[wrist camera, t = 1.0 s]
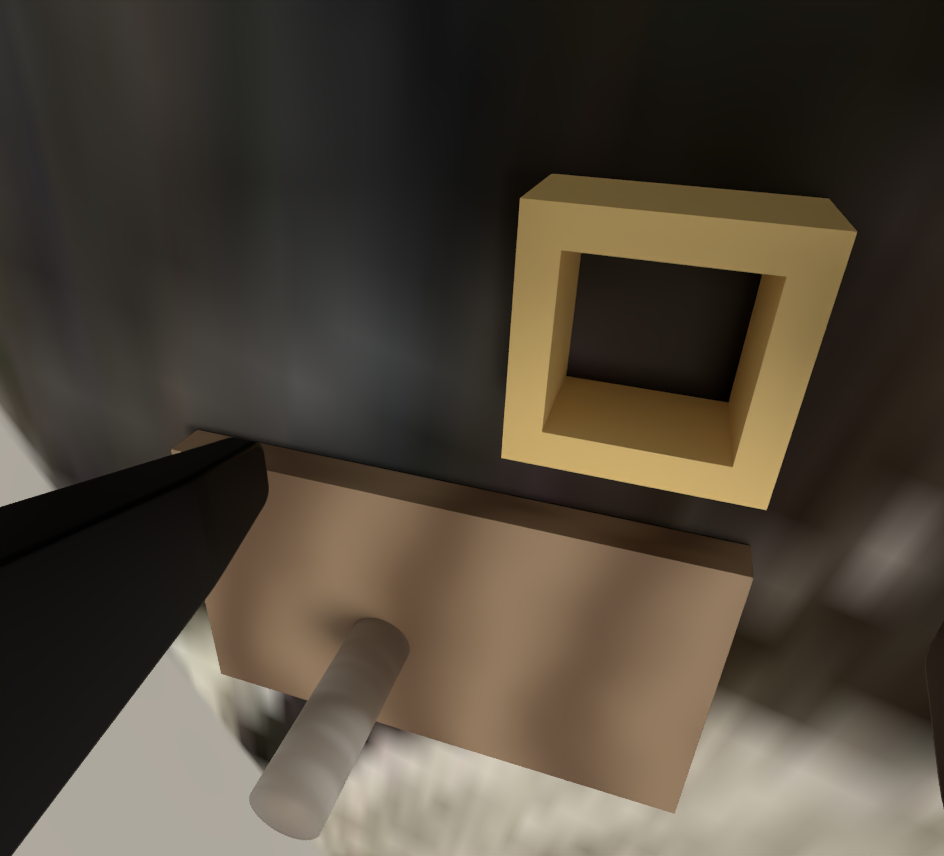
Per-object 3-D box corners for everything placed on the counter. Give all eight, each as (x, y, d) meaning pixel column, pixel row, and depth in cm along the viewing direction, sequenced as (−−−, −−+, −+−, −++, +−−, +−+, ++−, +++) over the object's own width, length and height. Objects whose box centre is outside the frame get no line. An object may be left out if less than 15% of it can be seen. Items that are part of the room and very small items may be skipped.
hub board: (750, 545, 20) (774, 805, 13) (676, 778, 26) (665, 1040, 19) (197, 429, 25) (-1, 576, 18) (240, 648, 31) (104, 822, 24)
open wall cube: (829, 198, 15) (857, 231, 13) (757, 439, 19) (766, 509, 16) (551, 173, 17) (519, 197, 14) (530, 400, 20) (501, 457, 17)
